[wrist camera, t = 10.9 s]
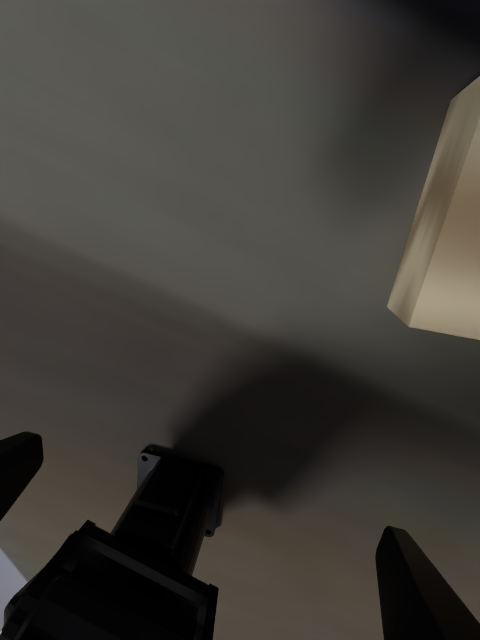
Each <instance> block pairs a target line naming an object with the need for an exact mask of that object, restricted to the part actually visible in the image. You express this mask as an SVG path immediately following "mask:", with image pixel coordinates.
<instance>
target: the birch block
mask: <svg viewBox="0 0 480 640" xmlns="http://www.w3.org/2000/svg"><path fill="white" fill-rule="evenodd" d="M387 307H388V308H389V309H390V310H391V311H392V312H393V313H394V314H395V315H396V316H397V317H398V318H400V319H401V320H402V321H403V322H404V323H405V324H406V325H407V326H408V327H412V328H418V329H423V330H428V331H434V332H439V333H445V334H450V335H455V336H461V337H466V338H471V339H477V340H480V76H479V77H478V78H477V79H476V80H474V81H473V82H472V83H471V84H469V85H468V86H467V87H466V88H465V89H463V90H462V91H461V92H460V93H458V94H457V95H456V96H455V97H454V98H452V99H451V101H450V105H449V108H448V111H447V114H446V118H445V121H444V124H443V127H442V131H441V134H440V137H439V140H438V144H437V147H436V150H435V153H434V156H433V160H432V163H431V166H430V169H429V173H428V176H427V179H426V182H425V186H424V189H423V192H422V195H421V199H420V202H419V205H418V208H417V211H416V215H415V218H414V221H413V224H412V228H411V231H410V234H409V237H408V241H407V244H406V247H405V250H404V254H403V257H402V260H401V263H400V266H399V270H398V273H397V276H396V279H395V283H394V286H393V289H392V292H391V296H390V299H389V302H388V305H387Z"/></svg>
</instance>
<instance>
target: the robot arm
mask: <svg viewBox="0 0 480 640" xmlns="http://www.w3.org/2000/svg"><path fill="white" fill-rule="evenodd" d="M145 456H146V457H145ZM42 463H43V446H42V438H41V436H40V435H39V434H35V433H32V432H22V433H19V434H16V435H13V436H11V437H8V438H5V439H3V440H0V521H1V520H2V518H3V517H4V516H5V514H6V513H7V512H8V510H9V509H10V508H11V506H12V505H13V504H14V502H15V501H16V500H17V498H18V497H19V496H20V494H21V493H22V492H23V490H24V489H25V488H26V486H27V485H28V484H29V482H30V481H31V480H32V478H33V477H34V476H35V474H36V473H37V471H38V470H39V469H40V467H41V465H42ZM215 474H217V475H218V476H217V475H215ZM223 476H224V472H223V470H222V469H220V468H218V467H214V466H210V465H206V464H202V463H199V462H195V461H191V460H187V459H183V458H179V457H175V456H171V455H167V454H163V453H159V452H155V451H152V450H148V449H144V450H142V451H141V453H140V454H139V456H138V479H137V491H136V492H135V494H134V495H133V497H132V499H131V500H130V502H129V504H128V505H127V507H126V509H125V510H124V512H123V513H122V515H121V517H120V518H119V520H118V522H117V523H116V525H115V527H114V528H113V530H112V531H111V533H108V532H106V531H105V530H103V529H101V528H99V527H97V526H95V525H96V524H95V523H93V522H91V521H90V520H87V521H86V522H85V523H84V525H83V526H82V527H81V528H80V529H79V530H78V531H75V532H74V533H73V534H70V535H69V537H68V538H67V539H66V541H65V542H64V544H63V545H62V546H61V548H60V549H59V550H58V552H57V553H56V554H55V555H54V556H53V558H52V559H51V560H50V561H49V562H48V563H47V565H46V566H45V567H44V568H43V569H42V570H41V571H40V572H39V573H37V574H36V575H35V576H34V577H33V578H32V579H31V580H30V581H29V582H28V583H27V584H26V585H25V586H24V587H23V588H22V589H21V590H20V591H19V592H17V593H16V594H15V595H14V596H13V598H12V599H11V600H10V602H9V603H8V604H7V606H6V608H5V610H4V626H3V628H2V630H1V632H0V640H213V631H214V623H215V614H216V606H217V597H218V587H216V586H214V585H212V584H209V585H208V584H206V583H204V582H202V581H200V580H198V579H196V578H194V577H193V576H192V574H193V571H194V567H195V564H196V561H197V557H198V554H199V551H200V548H201V544H202V541H203V538H204V536H207V537H212V536H213V535H214V533H215V529H216V522H217V516H218V509H219V503H220V496H221V490H222V483H223ZM376 569H377V579H378V588H379V597H380V607H381V616H382V626H383V634H384V640H480V623H479V622H478V621H477V620H476V618H475V617H474V616H473V614H472V613H471V612H470V611H469V609H468V608H467V607H466V606H465V604H464V603H463V602H462V601H461V599H460V598H459V597H458V595H457V594H456V593H455V592H454V590H453V589H452V588H451V587H450V585H449V584H448V583H447V582H446V580H445V579H444V578H443V576H442V575H441V574H440V573H439V571H438V570H437V569H436V568H435V566H434V565H433V564H432V563H431V561H430V560H429V559H428V557H427V556H426V555H425V554H424V552H423V551H422V550H421V549H420V547H419V546H418V545H417V544H416V542H415V541H414V540H413V538H412V537H411V536H410V535H409V534H408V532H406V531H405V530H403V529H399V528H396V527H392V526H387V527H386V528H385V529H384V532H383V534H382V537H381V539H380V542H379V544H378V547H377V550H376Z"/></svg>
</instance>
